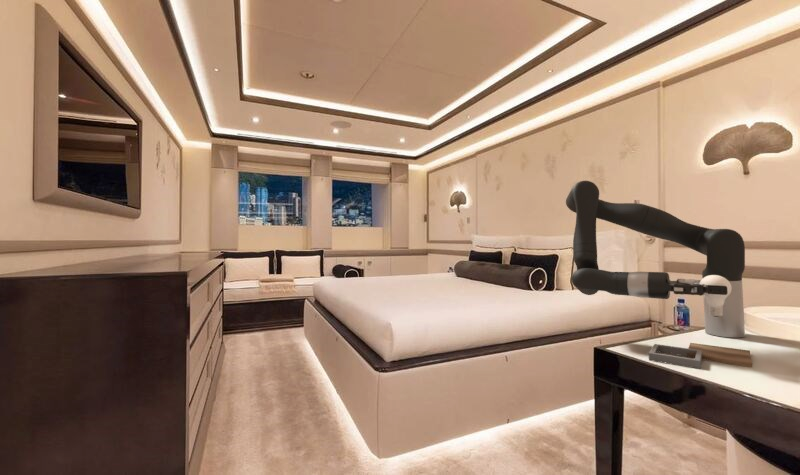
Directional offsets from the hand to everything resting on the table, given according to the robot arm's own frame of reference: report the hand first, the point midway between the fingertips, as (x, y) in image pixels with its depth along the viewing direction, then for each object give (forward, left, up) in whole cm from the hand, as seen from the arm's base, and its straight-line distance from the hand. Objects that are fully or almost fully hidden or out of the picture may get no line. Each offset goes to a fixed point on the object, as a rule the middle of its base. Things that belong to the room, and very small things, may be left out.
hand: (727, 288), depth 89 cm
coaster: (0, -2, -18) cm, 18 cm away
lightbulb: (0, -2, -8) cm, 8 cm away
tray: (+9, -10, -18) cm, 22 cm away
